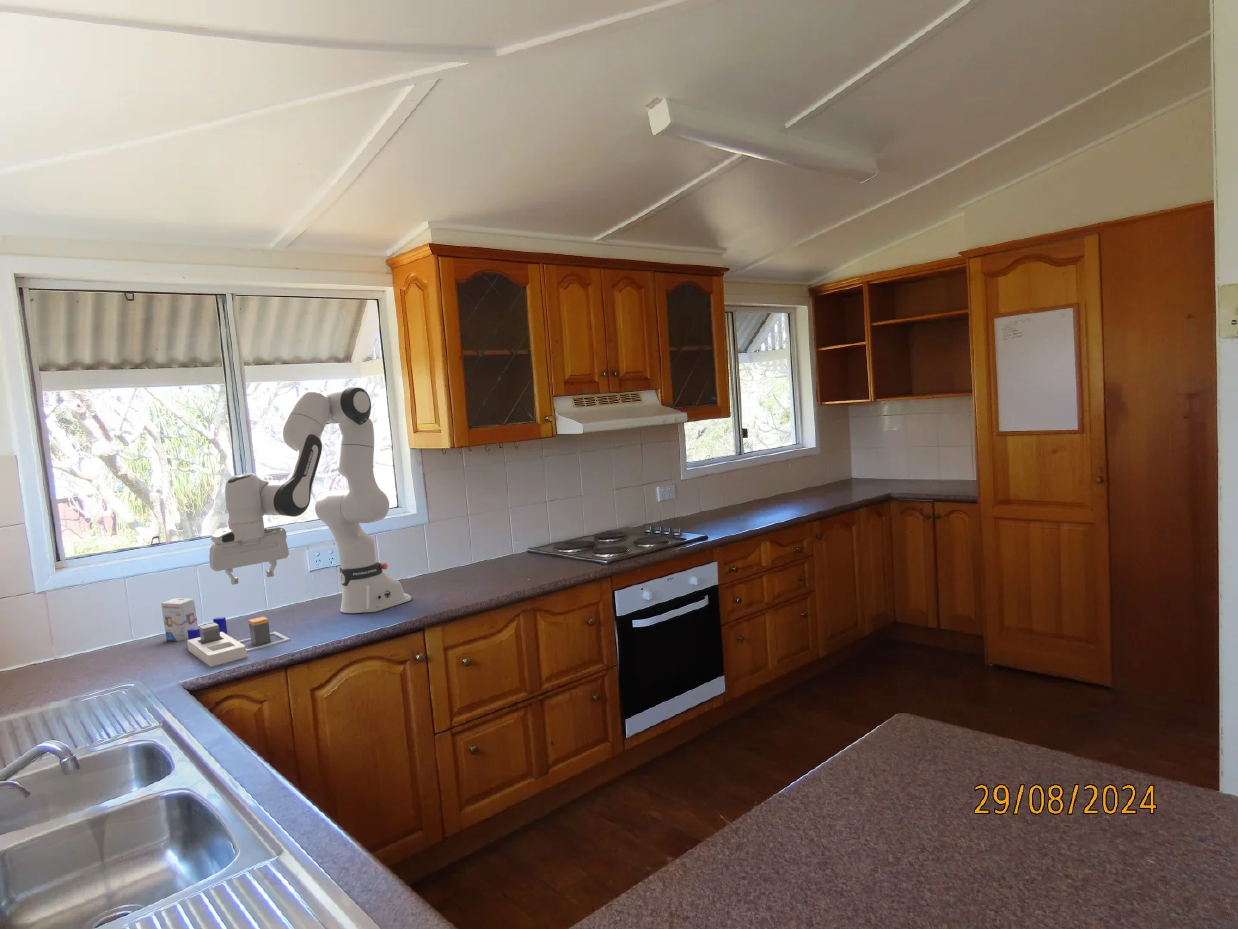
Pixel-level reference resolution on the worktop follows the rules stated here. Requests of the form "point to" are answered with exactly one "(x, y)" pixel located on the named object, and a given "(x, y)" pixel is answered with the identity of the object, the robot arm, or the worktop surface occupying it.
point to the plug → (259, 631)
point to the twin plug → (209, 633)
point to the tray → (269, 643)
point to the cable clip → (220, 621)
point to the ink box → (179, 618)
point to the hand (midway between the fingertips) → (253, 580)
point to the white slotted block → (217, 650)
